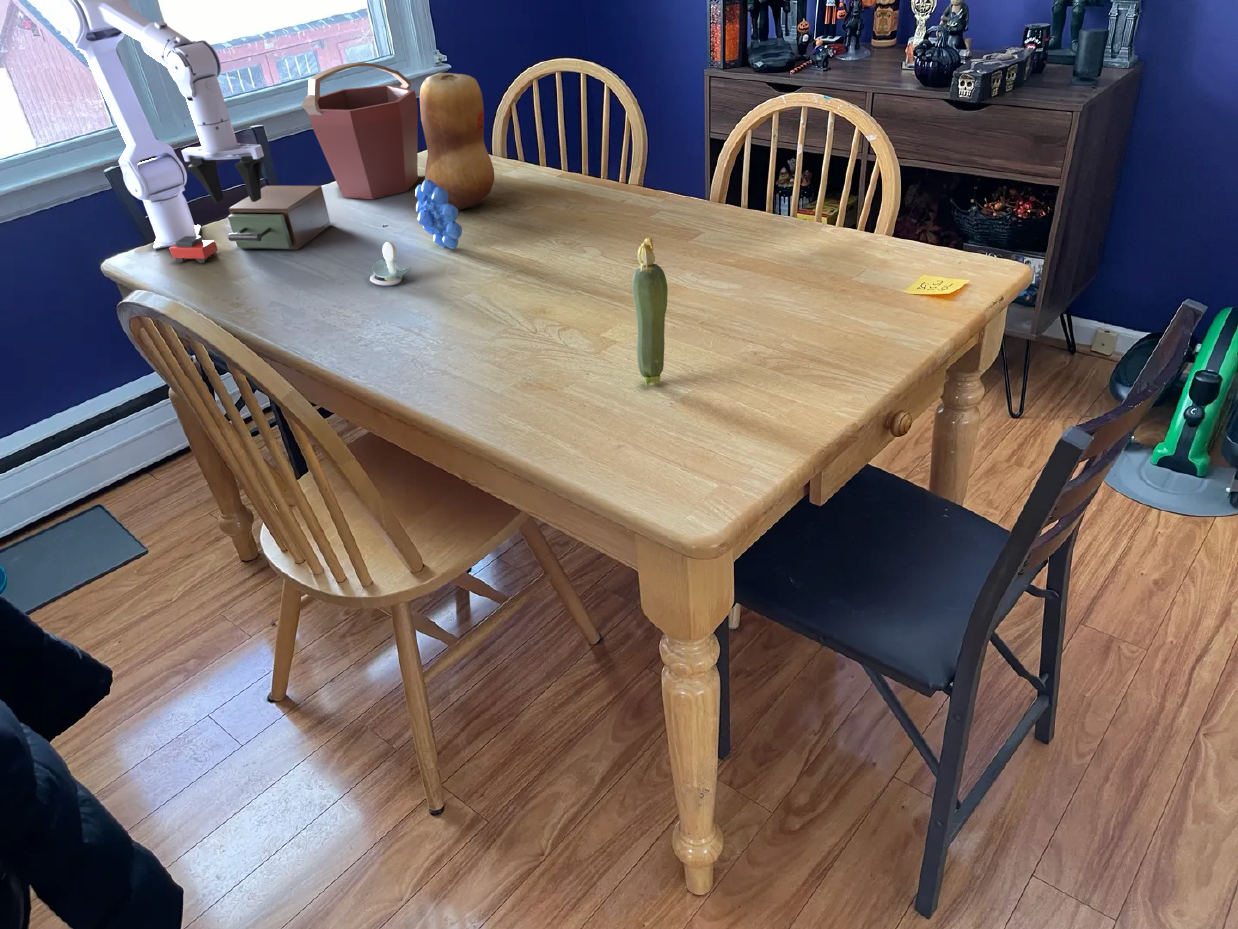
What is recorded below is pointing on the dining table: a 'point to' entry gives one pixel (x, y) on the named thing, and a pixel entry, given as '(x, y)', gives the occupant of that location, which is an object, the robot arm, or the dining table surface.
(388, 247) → the pacifier
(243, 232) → the drawer
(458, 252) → the dining table surface
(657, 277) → the vegetable
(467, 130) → the butternut squash
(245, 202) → the cabinet
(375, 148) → the bucket
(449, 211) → the grapes
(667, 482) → the dining table surface
